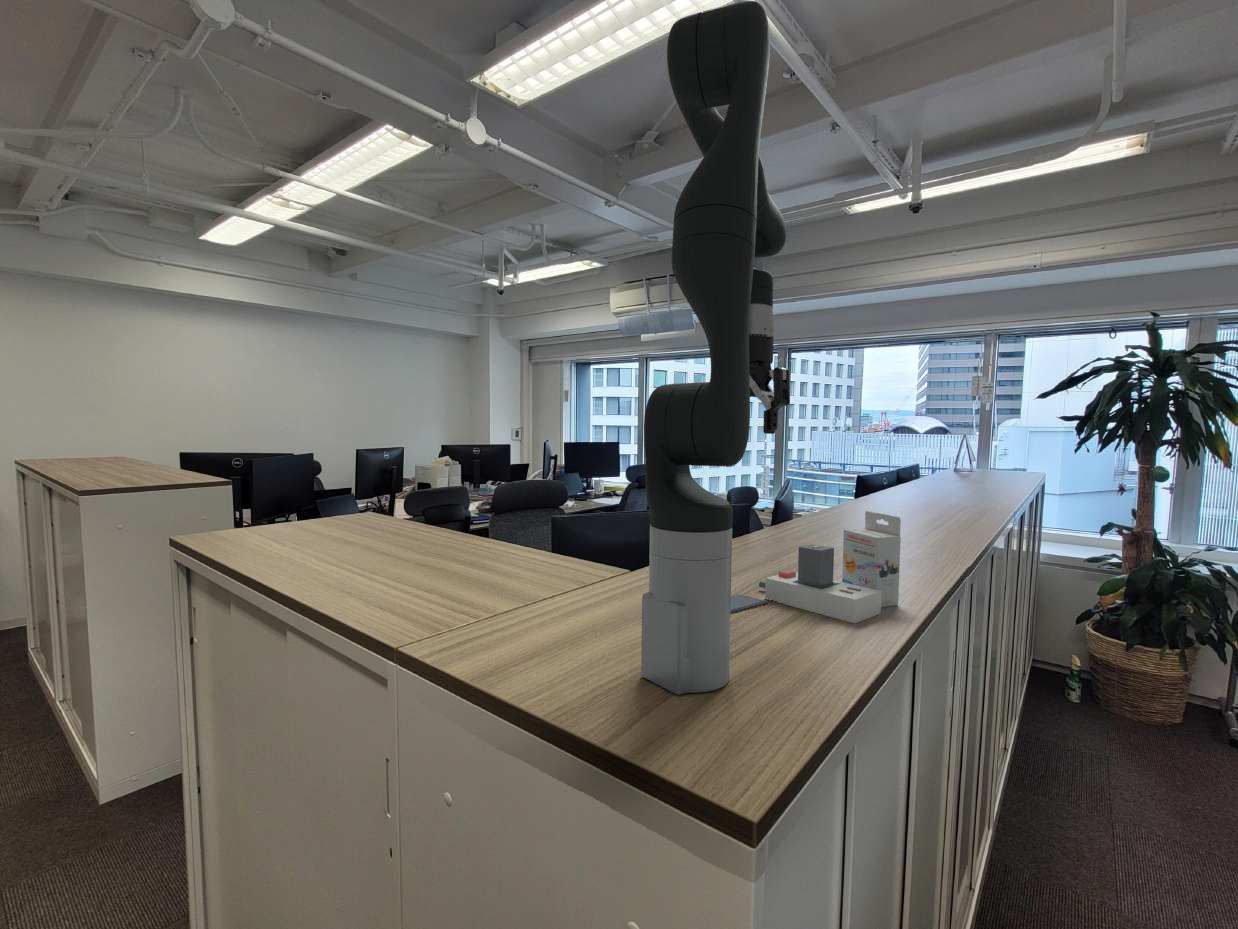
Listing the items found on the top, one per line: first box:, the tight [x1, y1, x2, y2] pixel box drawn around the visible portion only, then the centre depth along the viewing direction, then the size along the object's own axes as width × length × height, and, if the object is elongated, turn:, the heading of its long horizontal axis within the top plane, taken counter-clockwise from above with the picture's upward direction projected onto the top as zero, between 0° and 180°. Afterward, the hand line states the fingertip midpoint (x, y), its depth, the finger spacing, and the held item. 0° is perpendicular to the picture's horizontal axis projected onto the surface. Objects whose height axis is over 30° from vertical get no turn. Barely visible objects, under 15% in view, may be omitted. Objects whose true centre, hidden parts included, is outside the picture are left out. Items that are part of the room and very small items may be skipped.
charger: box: [797, 543, 835, 589], centre depth 92 cm, size 4×4×9 cm
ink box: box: [841, 510, 902, 608], centre depth 95 cm, size 8×5×15 cm, turn 17°
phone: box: [730, 594, 769, 615], centre depth 91 cm, size 12×6×1 cm, turn 127°
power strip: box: [758, 569, 882, 624], centre depth 93 cm, size 8×20×4 cm, turn 39°
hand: (748, 433), depth 94 cm, fingers open, 8 cm apart
